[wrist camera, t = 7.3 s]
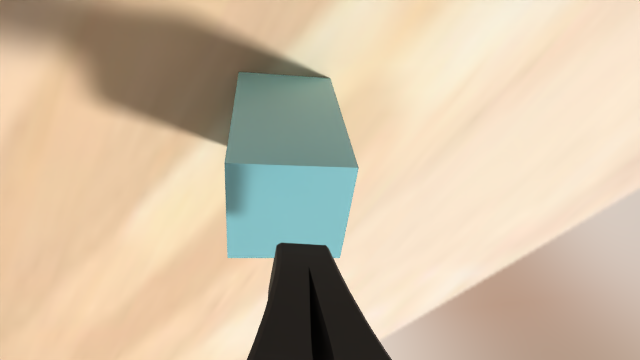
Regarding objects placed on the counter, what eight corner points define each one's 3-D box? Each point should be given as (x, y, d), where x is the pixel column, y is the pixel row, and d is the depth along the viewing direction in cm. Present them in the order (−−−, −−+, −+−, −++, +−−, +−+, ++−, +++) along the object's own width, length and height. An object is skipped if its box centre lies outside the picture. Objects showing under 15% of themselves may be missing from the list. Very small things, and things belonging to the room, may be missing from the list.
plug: (239, 150, 20) (227, 258, 14) (238, 71, 17) (224, 163, 12) (320, 153, 20) (340, 257, 15) (330, 78, 18) (358, 167, 12)
